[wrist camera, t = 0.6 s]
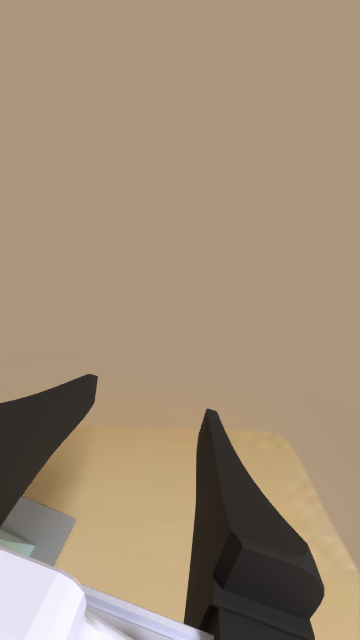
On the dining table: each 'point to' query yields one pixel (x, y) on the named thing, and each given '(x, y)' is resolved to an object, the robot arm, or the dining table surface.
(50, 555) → the gray tile
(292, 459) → the dining table surface
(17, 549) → the block
